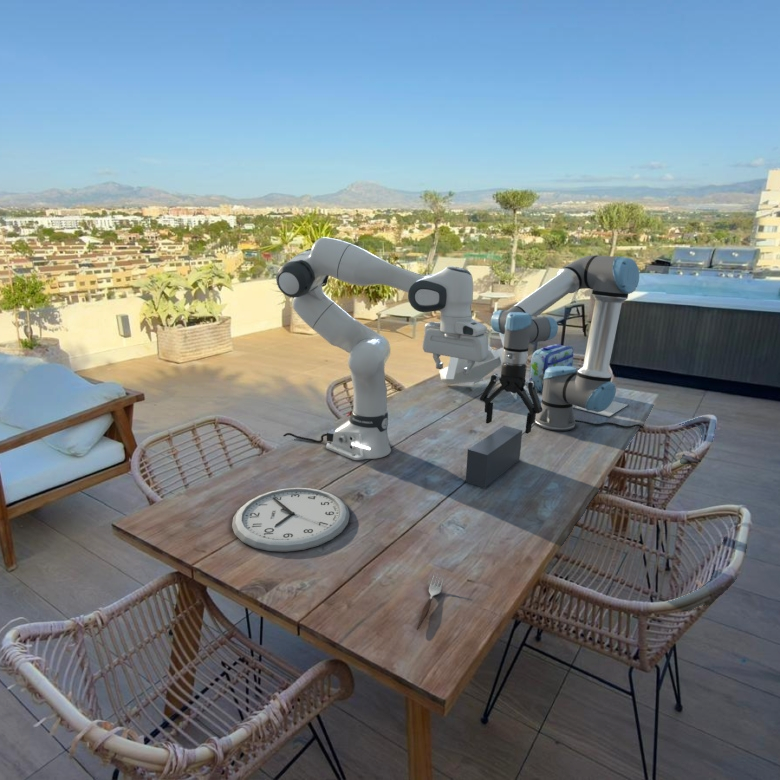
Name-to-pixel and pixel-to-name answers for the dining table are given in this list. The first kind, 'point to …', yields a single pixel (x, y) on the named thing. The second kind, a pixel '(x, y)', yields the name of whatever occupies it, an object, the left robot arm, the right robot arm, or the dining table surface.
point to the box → (493, 456)
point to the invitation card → (608, 409)
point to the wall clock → (290, 519)
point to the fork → (433, 591)
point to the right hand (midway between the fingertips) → (507, 427)
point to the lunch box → (548, 362)
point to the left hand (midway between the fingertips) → (452, 371)
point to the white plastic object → (474, 368)
